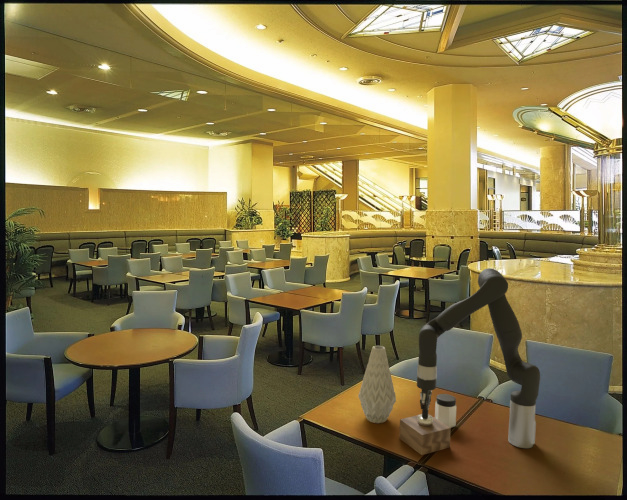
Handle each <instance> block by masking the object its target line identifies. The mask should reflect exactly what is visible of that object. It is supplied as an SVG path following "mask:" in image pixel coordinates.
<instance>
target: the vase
mask: <svg viewBox="0 0 627 500" xmlns="http://www.w3.org/2000/svg"><path fill="white" fill-rule="evenodd" d="M390 370H391V369H390V366H389V360H388V356H387V351H386V347H385V346H384V345H375V346H372V347H371V352H370V355H369V358H368V363H367V365H366V369H365V372H364V374H363V375H364V376H363V378H362V382H361V386H360V389H359V393H358V399H359V401H360V405H361V409H362V412H363V414H364V416H365V418H366V420H367V421H369V422H370V423H374V424H383V423H385V422H386V421H387V420H388V418H389V417H390V414H391V412H392V411H393V409H394V405H395V403H396V402H397V397H396V391H395V387H394V382H393V378H392V373H391V371H390Z"/></svg>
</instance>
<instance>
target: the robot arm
mask: <svg viewBox="0 0 627 500" xmlns="http://www.w3.org/2000/svg"><path fill="white" fill-rule="evenodd" d="M477 284H478V287H479V288H478V290H477V291H476V292H475V293H473V294H472V295H471V296H468V297H467V298H465V299H463V300H460V301H458V302H455V303H453V304H451V305H449V306H448V307H447V308H446V309H444V310H443V311H441V312H440V313H439V314H438V316H436V317H435V318H433V319H431V320H430V321H428V322H427V323H426V324H425V325H423V326H422V327H421V328H420V330H419V333H418V359H417V360H418V361H417V362H418V364H417V369H416V370H417V371H416V386H417V389H421V391H420V393H419V394H420V395H419V397H420V400H419V405H420V410H421V411H422V412H421V414H422V418H425V419H427V418H428V414H429V408H430V405H431V401H432V395H433V391H434V390H435V389H436V388H437V380H438V379H437V378H438V377H437V376H438V369H437V368H438V367H437V361H438V356H437V344H438V338H439V337H440V336H441V335H443V334H444V333H446V332H448V331H451V330H452V329H453V328H455V327H456V326H458V324H460V323H461V322H462V321H464V320H465V319H466V318H468V317H469V316H470V315H472V314H474V313H475V312H477V311H479V310H480V309H482V308H484V307H486V306H487V307H488V311H489V315H490V319H491V323H492V326H493V330H494V333H495V335H496V338H497V340H498V343H499V346H500V349H501V353H502V357H503V360H504V365H505V366H504V367H505V371H506V374H507V376H508V378H509V380H510V381H512V382H514V383H516V384H517V385H520V386H521V387H520V390H514V391H512V392H511V393H510V401H509V419H508V437H507V440H508V442H509V444H510V445H513V446H514V447H517V448H521V449H531V448H533V446H534V445H535V443H536V430H537V429H536V428H537V427H536V426H537V421H536V405H537V404H536V403H537V400H538V398H539V397H538V396H539V391H540V382H541V372H540V369H539V367H538V366H537V365H534V364H531V363H529V362H526V361H524V360H522V358H521V356H520V353H519V346H520V344H521V341H522V339H523V332H522V329H521V325H520V323H519V320H518V318H517V316H516V314H515V311H514V310H513V308H512V305H511V304H510V303H509V301H508V298H507V296H506V293H507V291H508V290H509V283H508V280H507V279H506V278H505V277H504V275H503V274H502V273H501V272H500V271H498V270H497V269H495V268H489V267H488V268H485V269H483V270H481V271H480V273H479V275H478V277H477Z"/></svg>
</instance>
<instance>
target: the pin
mask: <svg viewBox="0 0 627 500" xmlns="http://www.w3.org/2000/svg"><path fill="white" fill-rule="evenodd" d="M417 415H418V419H417V423H418V425H420V426H423V427H431V426H432V425H433V417H434V416H433V417H432V415H431V414H429V415H428V418H427V419H425V418H422V413H421V414H417ZM430 415H431V416H430Z"/></svg>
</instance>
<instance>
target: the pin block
mask: <svg viewBox="0 0 627 500" xmlns="http://www.w3.org/2000/svg"><path fill="white" fill-rule="evenodd" d="M418 415H419V414H417V415H413V416H408V417H405V418H400V419H399V440H401V441H402V442H404V443H405V444H406V445H408V446H409V447H410V448H412V450H414V451H416V452H417V453H418V454H419V455H421V456H424V455H427V454H430V453H435V452H438V451H442V450H444V449H448V448H450V447H451V429H452V428H450V427H448V426H447V425H445V424H444V423H442V422H440V421H439V420H437V419H436V418H435V416H432V415H431V414H429V413H428V415H430V416H432V417H433V425H432V426H431V427H423V426H420V425H418V423H417V419H418Z"/></svg>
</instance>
